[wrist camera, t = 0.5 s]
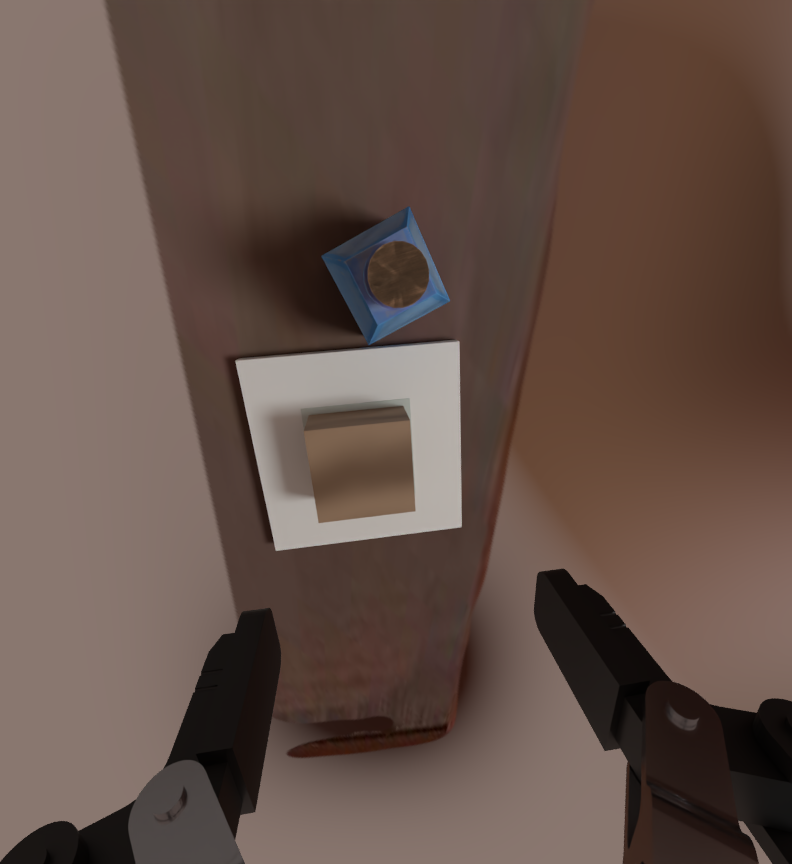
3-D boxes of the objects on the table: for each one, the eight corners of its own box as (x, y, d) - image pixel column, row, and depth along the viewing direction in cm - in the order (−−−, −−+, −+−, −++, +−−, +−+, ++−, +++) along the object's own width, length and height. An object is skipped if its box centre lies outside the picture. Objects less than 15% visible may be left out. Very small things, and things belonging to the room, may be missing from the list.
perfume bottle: (365, 335, 32) (373, 358, 21) (326, 263, 30) (312, 244, 19) (431, 299, 32) (477, 303, 20) (397, 223, 29) (426, 180, 18)
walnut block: (308, 415, 32) (303, 431, 29) (403, 405, 33) (410, 420, 29) (321, 498, 35) (318, 523, 31) (408, 488, 36) (415, 511, 32)
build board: (239, 358, 31) (235, 360, 30) (455, 339, 33) (459, 341, 32) (278, 543, 38) (275, 551, 36) (458, 520, 39) (461, 527, 38)
